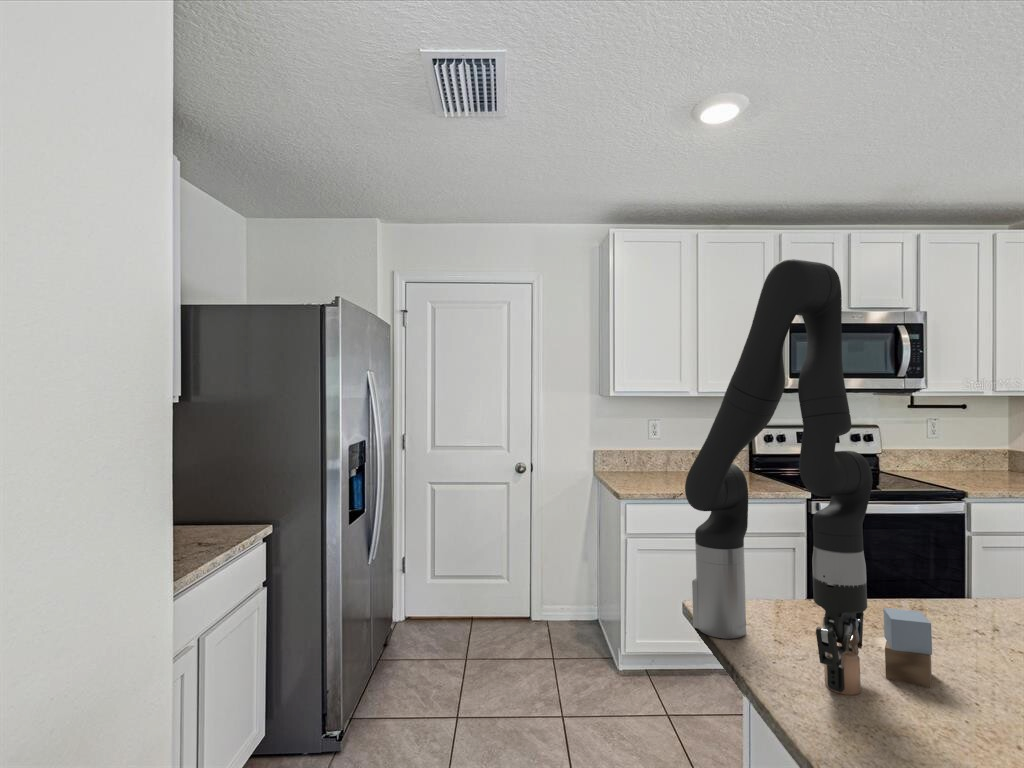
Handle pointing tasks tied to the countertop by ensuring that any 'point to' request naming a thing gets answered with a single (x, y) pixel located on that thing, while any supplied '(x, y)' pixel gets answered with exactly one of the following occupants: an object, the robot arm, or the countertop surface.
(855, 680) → the tan rounded cylinder
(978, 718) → the countertop surface
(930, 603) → the countertop surface
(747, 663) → the countertop surface
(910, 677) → the tower base
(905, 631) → the tower top
